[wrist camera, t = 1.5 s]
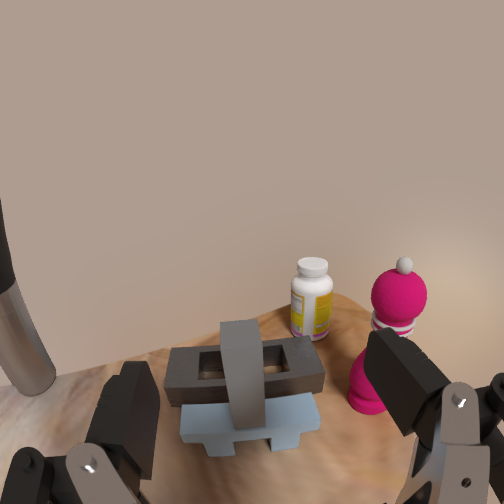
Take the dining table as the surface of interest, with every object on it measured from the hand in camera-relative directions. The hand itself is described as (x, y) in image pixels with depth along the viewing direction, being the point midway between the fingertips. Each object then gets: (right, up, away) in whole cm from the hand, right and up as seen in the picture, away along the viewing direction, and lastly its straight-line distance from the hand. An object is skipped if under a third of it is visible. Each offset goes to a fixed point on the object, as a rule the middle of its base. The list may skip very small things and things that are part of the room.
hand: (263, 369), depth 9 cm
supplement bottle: (+10, -10, +37) cm, 39 cm away
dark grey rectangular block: (-1, -14, +27) cm, 30 cm away
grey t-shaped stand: (0, -18, +17) cm, 25 cm away
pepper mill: (+15, -15, +22) cm, 30 cm away
